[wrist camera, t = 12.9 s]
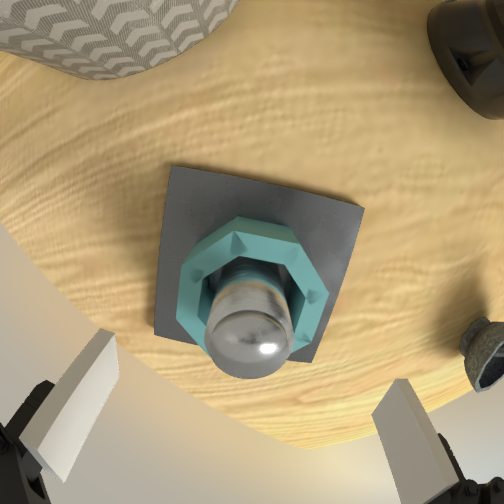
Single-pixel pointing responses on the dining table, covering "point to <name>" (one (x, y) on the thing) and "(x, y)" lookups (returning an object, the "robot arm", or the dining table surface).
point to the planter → (107, 32)
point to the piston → (250, 266)
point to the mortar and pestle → (483, 353)
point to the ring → (258, 247)
